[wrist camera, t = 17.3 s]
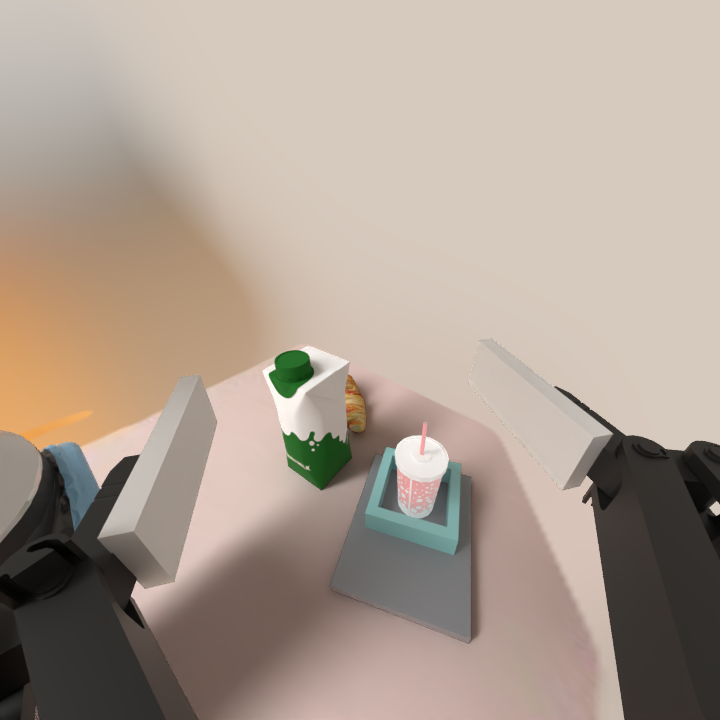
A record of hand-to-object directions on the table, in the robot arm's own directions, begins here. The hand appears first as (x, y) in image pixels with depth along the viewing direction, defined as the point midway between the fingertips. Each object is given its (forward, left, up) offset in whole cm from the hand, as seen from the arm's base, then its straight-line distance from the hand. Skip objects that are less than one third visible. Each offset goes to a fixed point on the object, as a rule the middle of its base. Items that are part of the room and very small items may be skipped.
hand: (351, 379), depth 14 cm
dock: (+10, -3, -29) cm, 31 cm away
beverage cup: (+13, -3, -28) cm, 31 cm away
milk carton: (+16, +12, -29) cm, 35 cm away
